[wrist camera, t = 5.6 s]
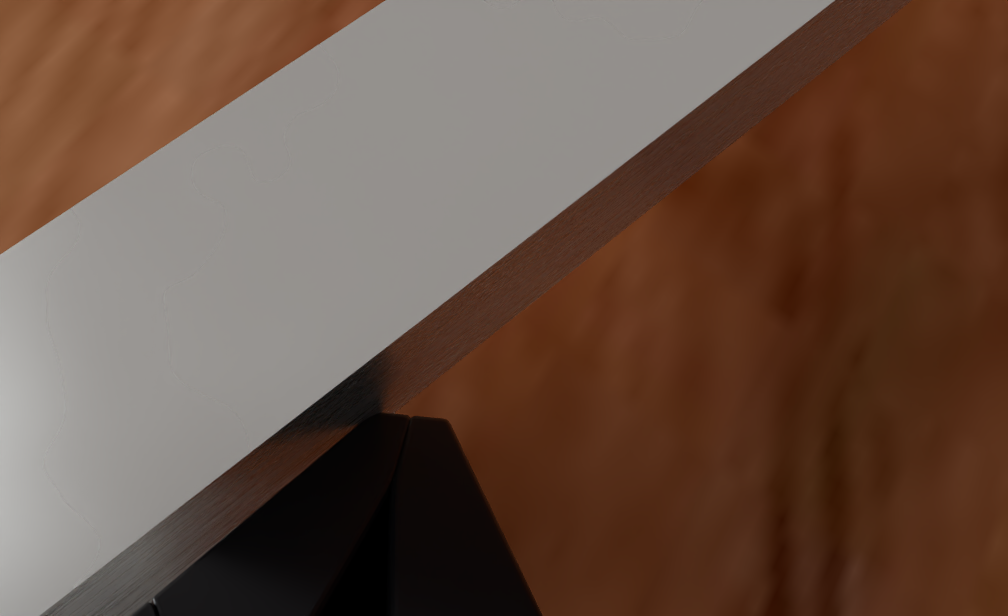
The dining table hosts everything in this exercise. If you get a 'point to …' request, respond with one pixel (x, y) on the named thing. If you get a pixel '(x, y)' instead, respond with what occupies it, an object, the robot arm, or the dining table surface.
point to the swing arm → (343, 256)
